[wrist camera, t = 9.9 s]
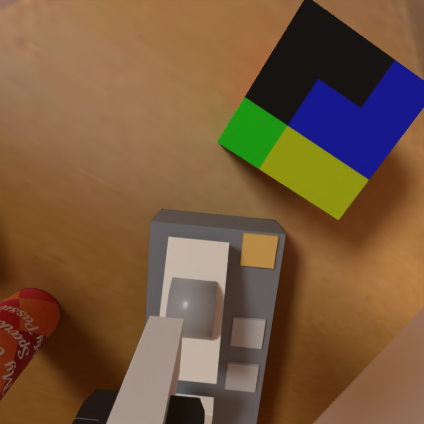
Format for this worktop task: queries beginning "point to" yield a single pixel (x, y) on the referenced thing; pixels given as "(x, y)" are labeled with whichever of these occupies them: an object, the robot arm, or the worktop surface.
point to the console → (228, 302)
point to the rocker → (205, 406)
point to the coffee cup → (24, 331)
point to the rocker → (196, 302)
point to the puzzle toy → (324, 110)
